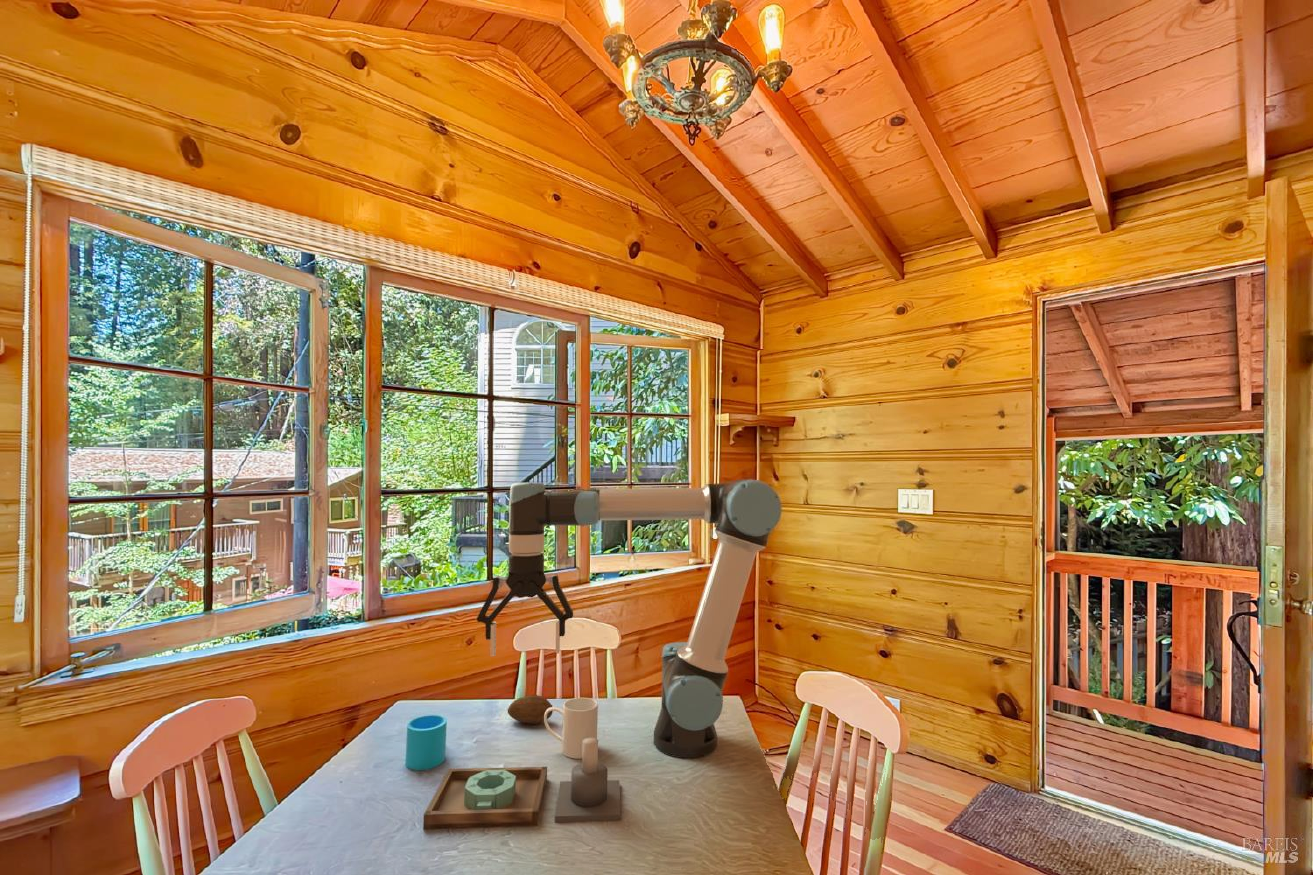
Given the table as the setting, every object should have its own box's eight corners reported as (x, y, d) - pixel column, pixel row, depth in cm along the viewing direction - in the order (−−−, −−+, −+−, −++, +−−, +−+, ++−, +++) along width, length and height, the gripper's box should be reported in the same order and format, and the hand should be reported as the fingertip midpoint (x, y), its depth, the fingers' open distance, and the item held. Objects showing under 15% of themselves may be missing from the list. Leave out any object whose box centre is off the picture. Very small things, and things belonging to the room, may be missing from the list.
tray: (546, 779, 120) (547, 766, 120) (537, 825, 104) (537, 811, 104) (448, 781, 118) (448, 768, 118) (423, 829, 102) (423, 814, 102)
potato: (510, 717, 150) (511, 689, 151) (555, 717, 150) (556, 690, 151) (504, 728, 143) (505, 699, 144) (551, 728, 144) (552, 700, 144)
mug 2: (596, 742, 137) (597, 696, 137) (597, 758, 129) (598, 710, 130) (544, 744, 135) (545, 698, 136) (541, 760, 127) (543, 712, 128)
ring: (517, 784, 116) (518, 769, 116) (508, 816, 105) (509, 799, 106) (471, 785, 115) (472, 770, 115) (457, 817, 105) (458, 800, 105)
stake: (619, 784, 118) (620, 727, 119) (620, 819, 106) (621, 755, 107) (560, 786, 117) (561, 728, 118) (554, 821, 105) (556, 756, 106)
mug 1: (434, 771, 122) (436, 731, 123) (397, 768, 123) (399, 729, 124) (458, 745, 134) (460, 709, 135) (425, 742, 135) (426, 707, 135)
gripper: (584, 549, 131) (583, 645, 130) (470, 552, 128) (469, 650, 126) (584, 554, 123) (584, 655, 122) (463, 557, 120) (462, 661, 119)
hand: (525, 653), depth 124 cm, fingers open, 13 cm apart
